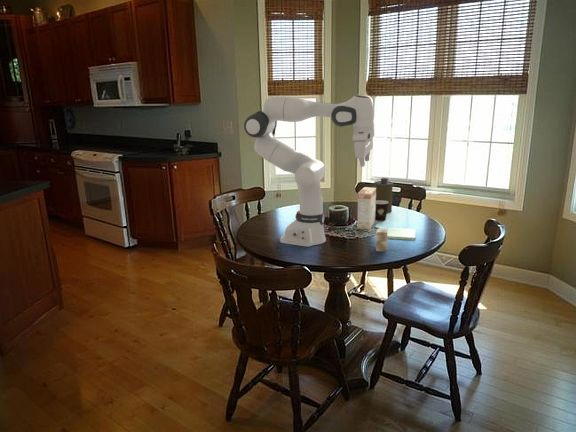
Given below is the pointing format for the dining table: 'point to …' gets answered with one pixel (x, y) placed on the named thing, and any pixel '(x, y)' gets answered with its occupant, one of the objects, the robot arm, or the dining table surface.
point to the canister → (384, 191)
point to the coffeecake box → (366, 208)
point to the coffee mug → (381, 210)
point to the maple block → (381, 240)
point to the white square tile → (401, 233)
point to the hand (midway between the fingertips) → (364, 163)
